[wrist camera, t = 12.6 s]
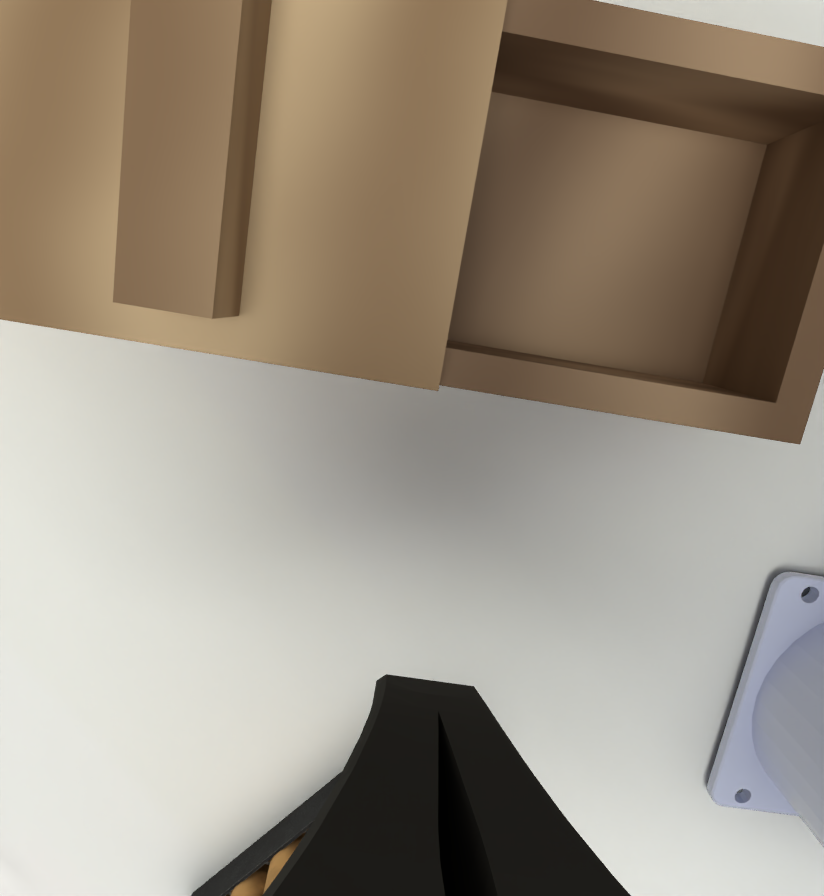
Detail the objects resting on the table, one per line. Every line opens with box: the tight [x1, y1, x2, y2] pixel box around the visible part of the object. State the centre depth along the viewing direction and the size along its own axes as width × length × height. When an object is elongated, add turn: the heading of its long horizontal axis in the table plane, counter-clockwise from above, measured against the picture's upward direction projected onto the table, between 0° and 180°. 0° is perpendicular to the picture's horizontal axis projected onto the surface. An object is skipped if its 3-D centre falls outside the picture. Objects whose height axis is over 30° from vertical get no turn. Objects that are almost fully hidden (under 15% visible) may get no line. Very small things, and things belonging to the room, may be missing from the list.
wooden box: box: [439, 0, 824, 444], centre depth 15 cm, size 14×8×4 cm, turn 80°
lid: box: [0, 0, 508, 391], centre depth 11 cm, size 15×8×3 cm, turn 80°
